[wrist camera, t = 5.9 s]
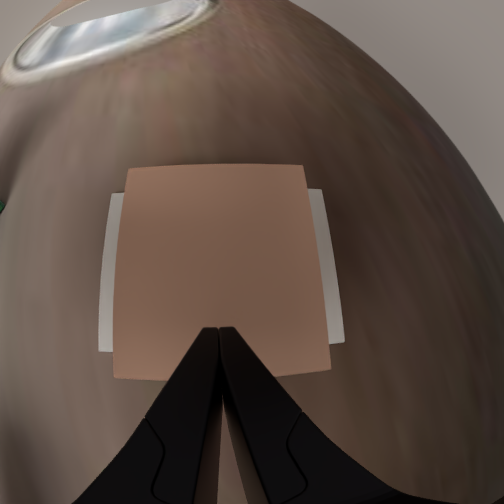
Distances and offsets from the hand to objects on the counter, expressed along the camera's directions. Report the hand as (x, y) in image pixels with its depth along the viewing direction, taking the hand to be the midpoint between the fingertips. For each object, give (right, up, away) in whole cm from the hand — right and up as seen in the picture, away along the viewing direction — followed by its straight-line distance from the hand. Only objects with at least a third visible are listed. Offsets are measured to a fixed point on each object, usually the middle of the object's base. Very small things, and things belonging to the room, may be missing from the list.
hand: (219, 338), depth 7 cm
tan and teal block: (0, -3, +5) cm, 6 cm away
